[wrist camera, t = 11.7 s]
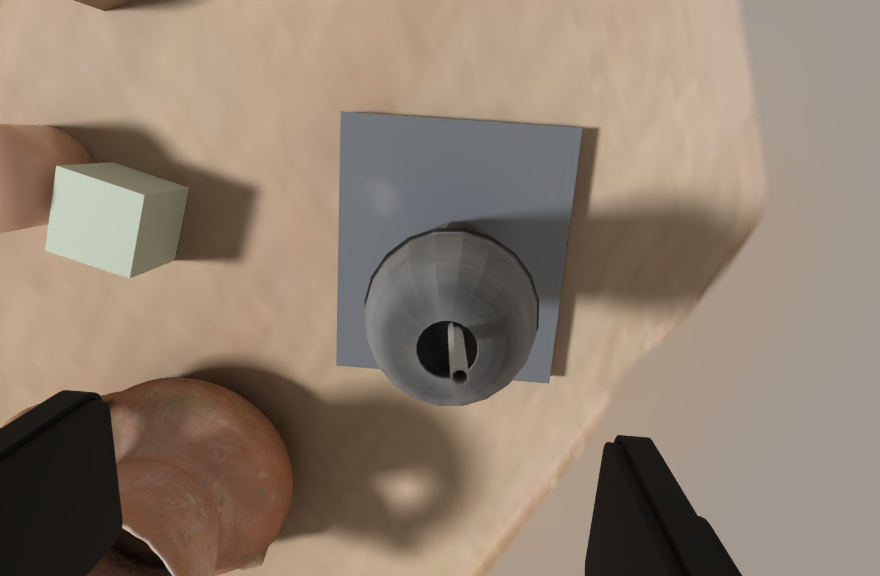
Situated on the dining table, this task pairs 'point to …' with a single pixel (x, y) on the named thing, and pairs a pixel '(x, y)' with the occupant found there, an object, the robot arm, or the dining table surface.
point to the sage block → (115, 217)
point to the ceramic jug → (193, 480)
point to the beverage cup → (451, 315)
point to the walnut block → (104, 3)
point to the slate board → (453, 206)
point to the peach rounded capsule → (32, 172)
